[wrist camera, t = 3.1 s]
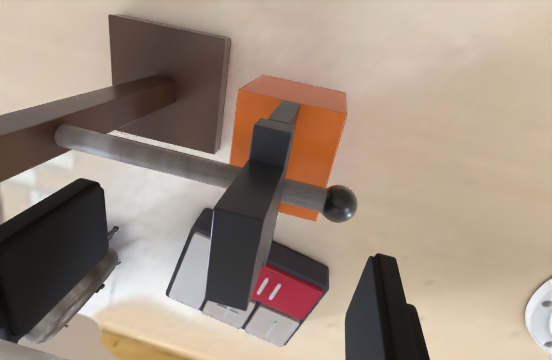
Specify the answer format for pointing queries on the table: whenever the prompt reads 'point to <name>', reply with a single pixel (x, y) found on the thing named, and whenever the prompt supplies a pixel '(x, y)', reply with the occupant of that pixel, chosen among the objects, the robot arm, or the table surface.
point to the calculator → (267, 293)
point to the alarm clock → (74, 299)
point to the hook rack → (151, 115)
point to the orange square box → (269, 176)
